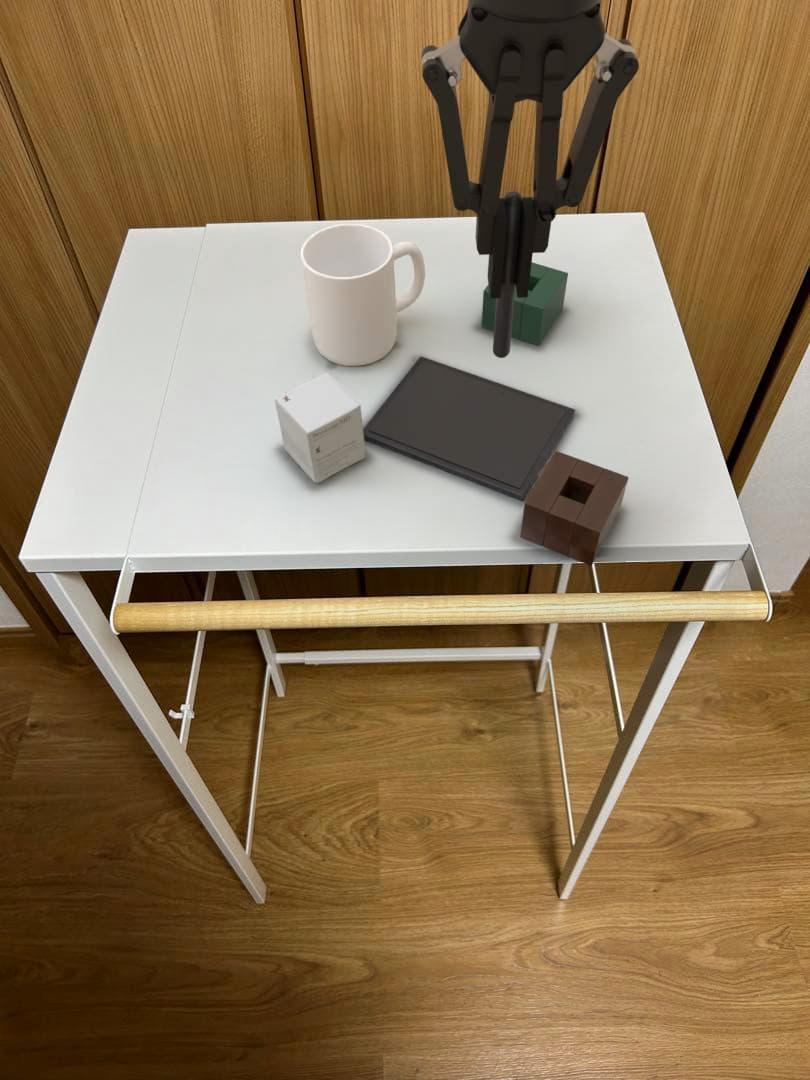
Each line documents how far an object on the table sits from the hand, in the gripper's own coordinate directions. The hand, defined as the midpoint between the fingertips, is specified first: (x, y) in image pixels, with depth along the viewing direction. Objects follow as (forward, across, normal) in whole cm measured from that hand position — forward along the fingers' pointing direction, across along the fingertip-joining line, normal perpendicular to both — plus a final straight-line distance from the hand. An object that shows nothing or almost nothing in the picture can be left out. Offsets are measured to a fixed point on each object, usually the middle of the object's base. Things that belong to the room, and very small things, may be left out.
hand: (507, 286), depth 63 cm
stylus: (+7, 0, 0) cm, 7 cm away
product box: (+23, +16, -4) cm, 28 cm away
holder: (+22, -7, +6) cm, 24 cm away
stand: (+22, -6, -23) cm, 33 cm away
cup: (+23, +12, -22) cm, 33 cm away
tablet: (+22, +2, -7) cm, 23 cm away
